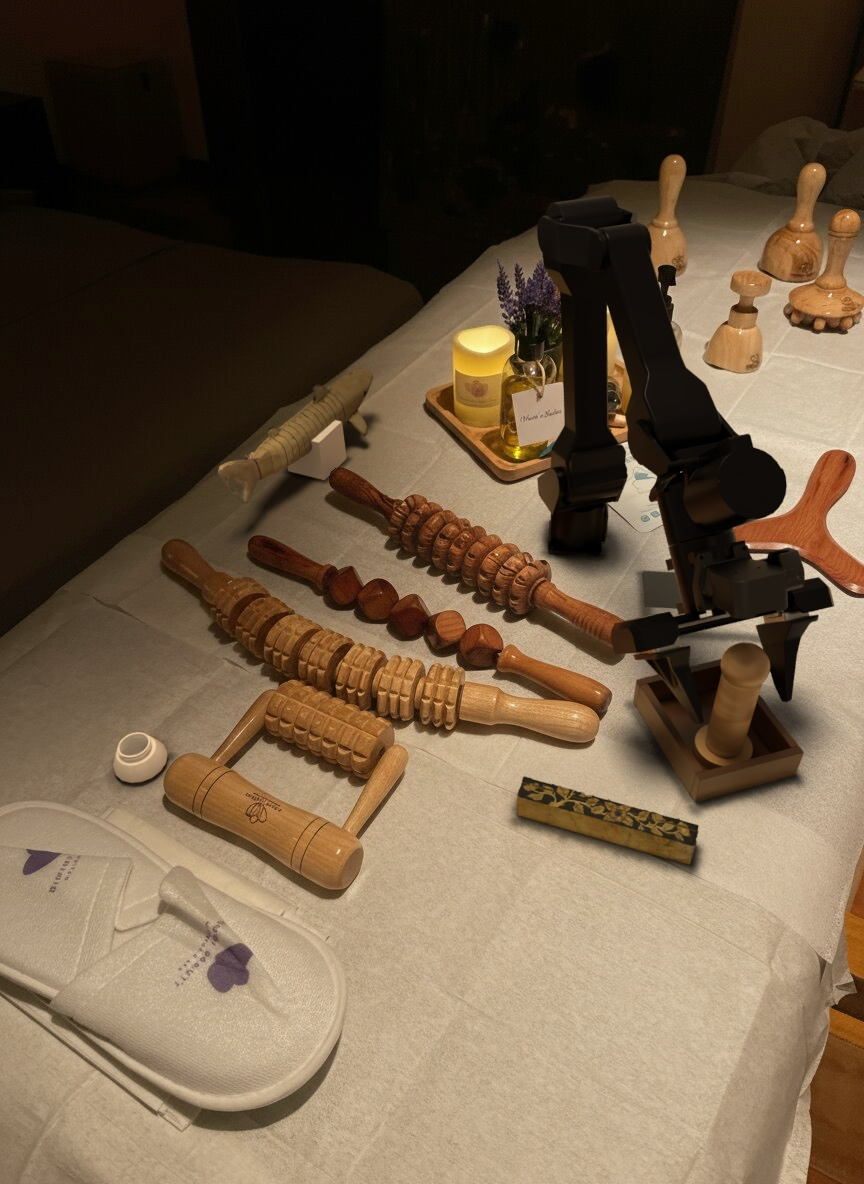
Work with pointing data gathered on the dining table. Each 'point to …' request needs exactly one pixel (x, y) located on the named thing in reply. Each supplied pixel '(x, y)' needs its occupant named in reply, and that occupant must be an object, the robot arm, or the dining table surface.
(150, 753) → the lidless jar
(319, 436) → the wood carving
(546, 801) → the decorative block
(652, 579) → the mat
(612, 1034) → the dining table surface
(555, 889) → the dining table surface
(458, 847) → the dining table surface
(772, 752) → the box
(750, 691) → the wooden pestle
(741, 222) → the dining table surface
